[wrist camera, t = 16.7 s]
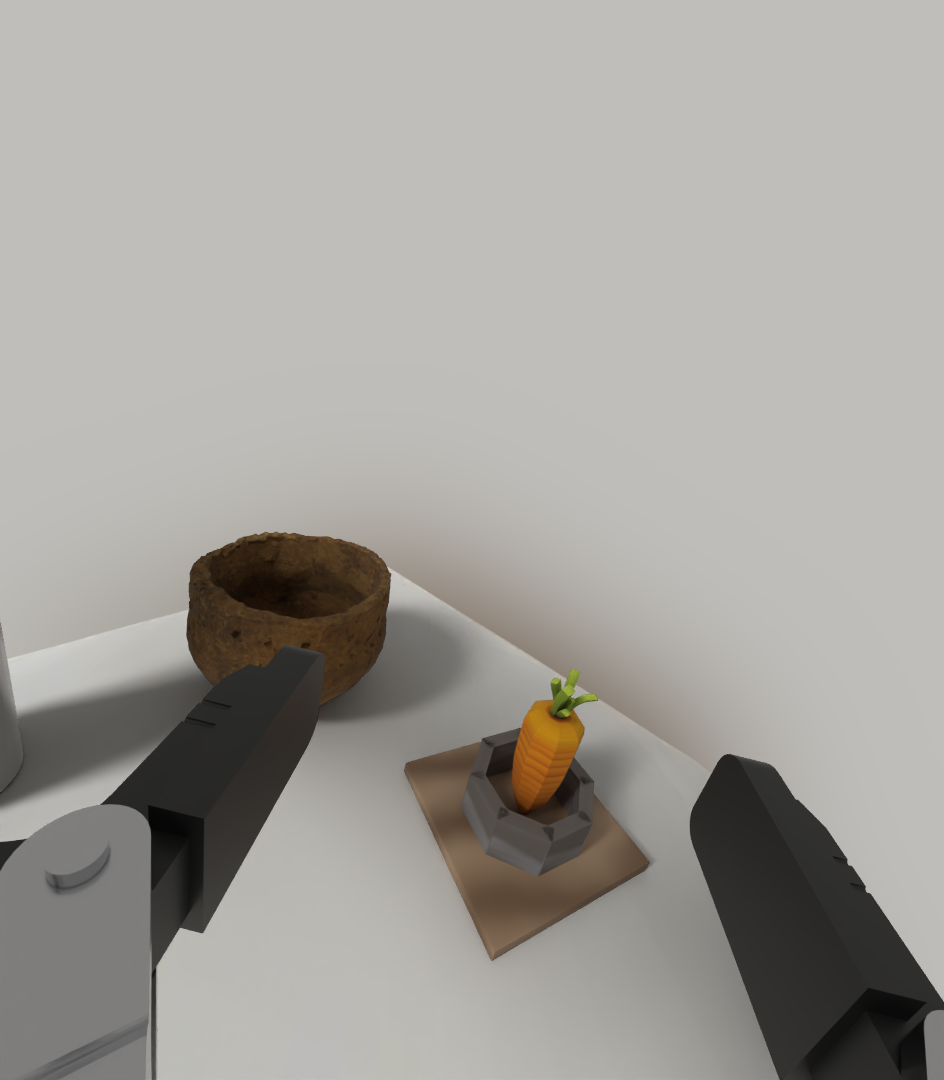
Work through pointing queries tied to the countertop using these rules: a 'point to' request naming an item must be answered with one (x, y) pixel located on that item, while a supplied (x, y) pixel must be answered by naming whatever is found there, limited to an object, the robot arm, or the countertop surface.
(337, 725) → the countertop surface
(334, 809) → the countertop surface
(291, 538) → the bowl
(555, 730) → the carrot
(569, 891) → the ring holder
